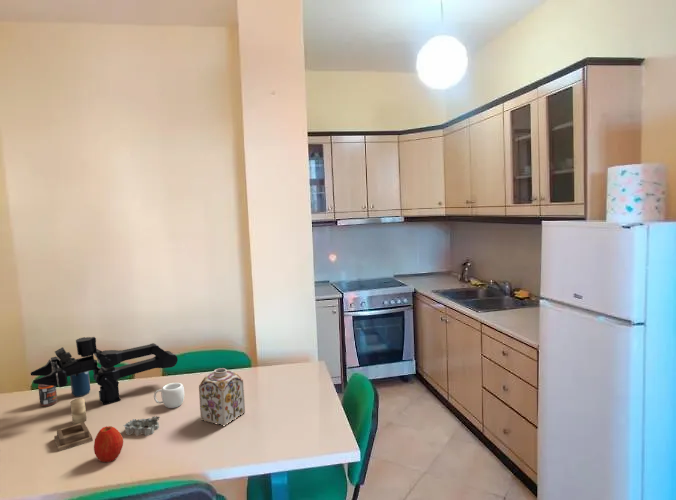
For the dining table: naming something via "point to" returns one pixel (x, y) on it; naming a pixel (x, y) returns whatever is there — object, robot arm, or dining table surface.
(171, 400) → the mug
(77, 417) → the wooden dowel
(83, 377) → the soda can
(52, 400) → the supplement bottle
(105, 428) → the apple
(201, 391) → the decorative jar
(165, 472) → the dining table surface
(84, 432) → the walnut socket holder
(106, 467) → the dining table surface
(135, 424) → the egg carton
